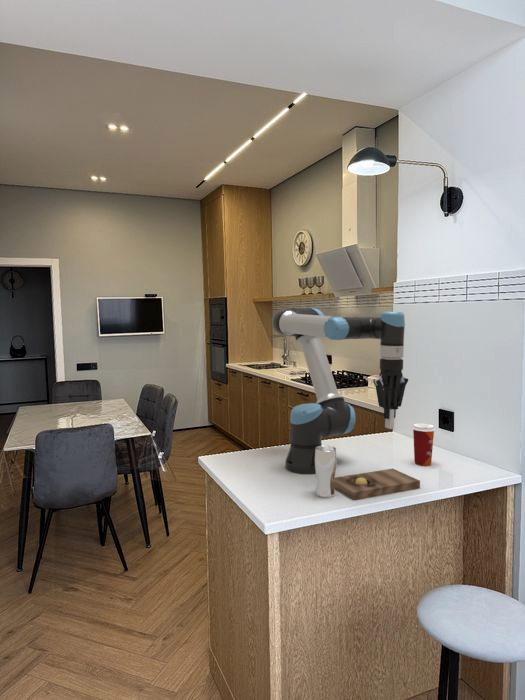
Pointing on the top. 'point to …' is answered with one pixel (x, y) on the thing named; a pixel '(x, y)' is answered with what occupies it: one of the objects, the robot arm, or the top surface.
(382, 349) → the robot arm
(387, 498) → the top surface
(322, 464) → the beer glass
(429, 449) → the coffee cup
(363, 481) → the ball
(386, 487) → the board
